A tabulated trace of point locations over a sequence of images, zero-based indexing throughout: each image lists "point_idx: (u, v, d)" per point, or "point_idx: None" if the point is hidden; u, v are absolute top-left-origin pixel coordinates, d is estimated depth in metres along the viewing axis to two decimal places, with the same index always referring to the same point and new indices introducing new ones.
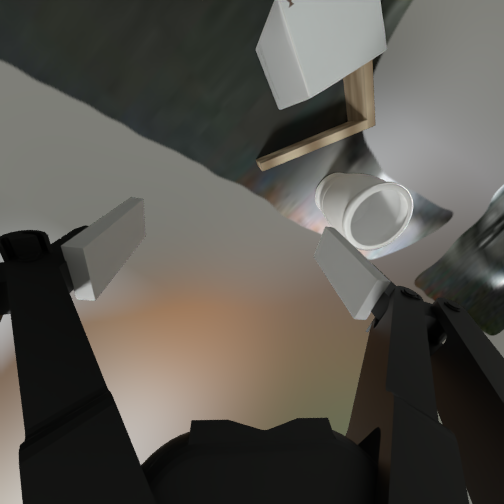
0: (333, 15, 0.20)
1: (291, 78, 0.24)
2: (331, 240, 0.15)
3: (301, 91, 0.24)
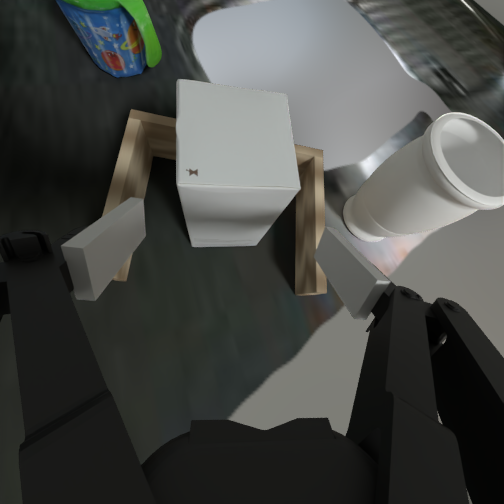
0: (231, 132, 0.15)
1: (256, 209, 0.18)
2: (331, 239, 0.15)
3: (281, 200, 0.16)
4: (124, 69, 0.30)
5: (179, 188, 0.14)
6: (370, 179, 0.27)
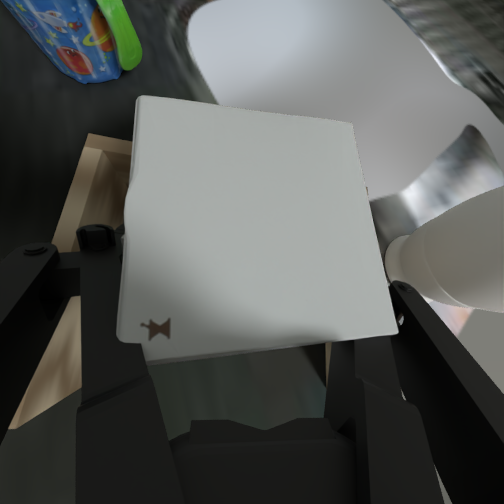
0: (249, 213, 0.07)
1: None
2: None
3: None
4: (92, 73, 0.22)
5: None
6: (437, 231, 0.19)
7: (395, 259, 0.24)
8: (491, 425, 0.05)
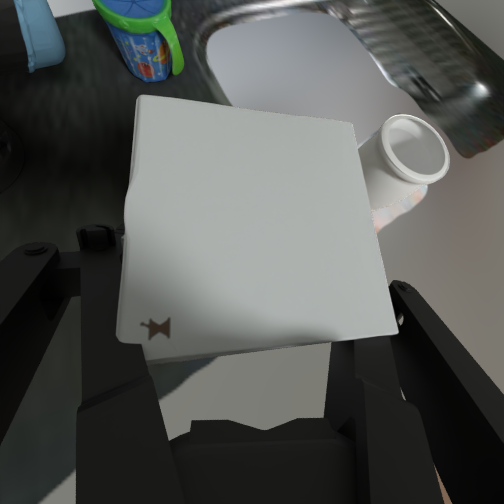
0: (250, 213, 0.07)
1: None
2: None
3: None
4: (153, 76, 0.38)
5: None
6: None
7: None
8: (491, 425, 0.05)
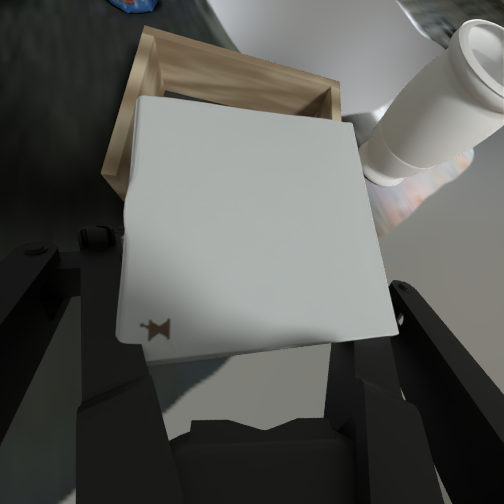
0: (249, 213, 0.07)
1: None
2: None
3: None
4: (135, 2, 0.29)
5: None
6: (388, 109, 0.26)
7: (364, 151, 0.31)
8: (491, 425, 0.05)
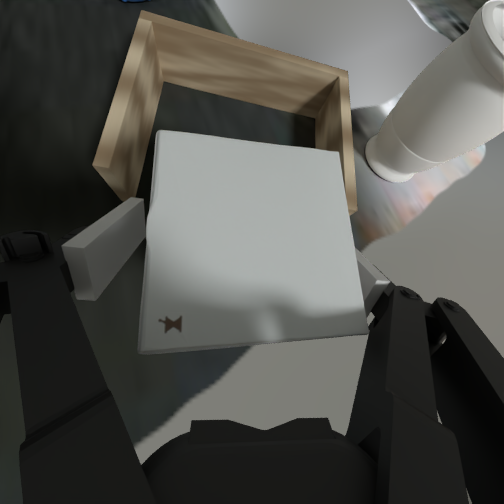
0: (248, 231, 0.08)
1: None
2: None
3: None
4: None
5: None
6: (400, 99, 0.25)
7: (373, 145, 0.30)
8: None
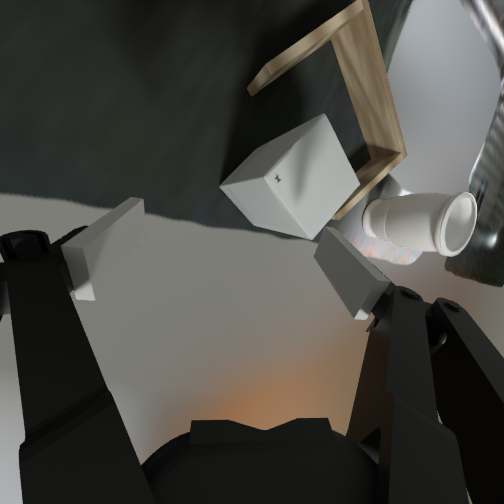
0: (315, 176, 0.21)
1: (281, 221, 0.24)
2: (331, 240, 0.15)
3: (298, 232, 0.23)
4: None
5: (262, 178, 0.19)
6: (407, 195, 0.39)
7: (376, 203, 0.44)
8: None
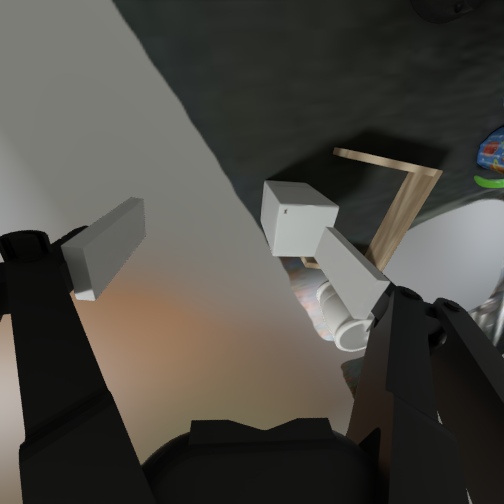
0: (304, 229, 0.31)
1: (270, 232, 0.35)
2: (331, 240, 0.15)
3: (271, 246, 0.34)
4: (482, 153, 0.41)
5: (279, 203, 0.30)
6: None
7: None
8: None
